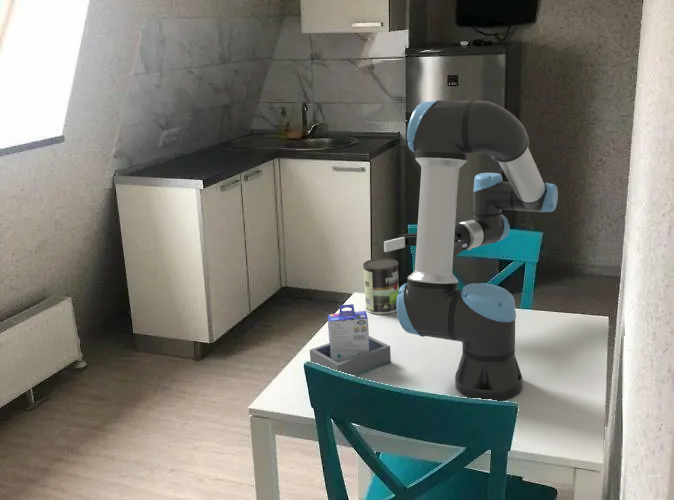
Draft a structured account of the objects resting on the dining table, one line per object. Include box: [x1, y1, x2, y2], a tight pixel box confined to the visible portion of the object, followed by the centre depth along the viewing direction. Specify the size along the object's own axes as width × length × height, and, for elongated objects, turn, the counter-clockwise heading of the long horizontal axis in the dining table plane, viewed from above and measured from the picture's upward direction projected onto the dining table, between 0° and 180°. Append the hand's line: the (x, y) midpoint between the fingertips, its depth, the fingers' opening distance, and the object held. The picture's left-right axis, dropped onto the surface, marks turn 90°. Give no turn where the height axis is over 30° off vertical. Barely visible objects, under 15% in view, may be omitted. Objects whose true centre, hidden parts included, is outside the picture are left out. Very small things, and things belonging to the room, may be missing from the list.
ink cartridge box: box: [327, 303, 370, 363], centre depth 183 cm, size 10×6×14 cm, turn 94°
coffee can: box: [362, 257, 400, 316], centre depth 218 cm, size 10×10×14 cm
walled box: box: [309, 335, 392, 377], centre depth 184 cm, size 12×16×4 cm
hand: (401, 251), depth 186 cm, fingers open, 13 cm apart
